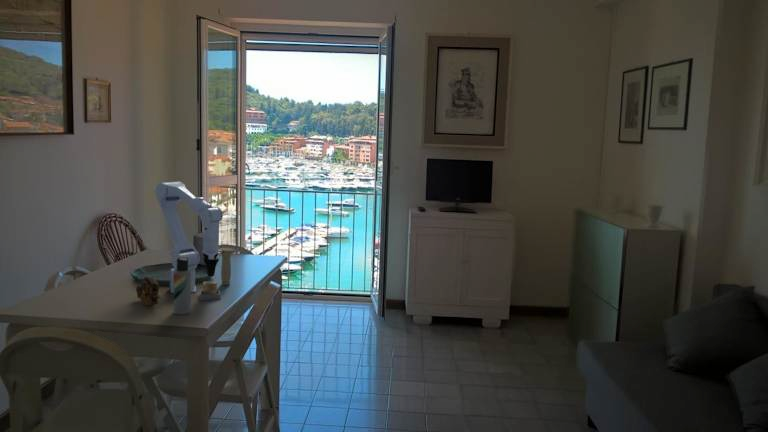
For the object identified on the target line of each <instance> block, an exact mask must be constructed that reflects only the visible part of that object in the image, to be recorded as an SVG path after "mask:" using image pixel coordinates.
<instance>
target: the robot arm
mask: <svg viewBox="0 0 768 432" xmlns="http://www.w3.org/2000/svg"><path fill="white" fill-rule="evenodd" d="M154 193H155V196H156V198H157V202H158V205H159V206H160V209H161V212H162V215H163V218H164V221H165V224H166V227H167V230H168V233H169V236H170V238H171V242H172V244H173V248H172V250H171V251H170V256H171V257H170V259H171V264H172V267H174V268H170V282H169V288H170V293H171V294H174V271H175V270H177V259H178V257H187V258H188V270H190V271H191V293H196V292H197V286H196V269H197V268H198V266H199V265H198V264H199V262H200V256H199V253H198V252H197V251H196V249H195V247H194V246H193V244H191V243H190V242H188V240H187V239H188V238H187V235H186V233H185V231H184V228H183V225H182V222H181V220H180V217H179V216H180V215H179V214H178V211H177V208H176V206H177V205H178V204H179V203H180V201H184V202H186V203H187V204H189V208H190V210H192V211H193V213H195V214H197V215H198V216H199V219H200V221H201V226H202V227H203V231H202V232H203V255H204V257H205V258H203V260H204V262H205V264H206V265H205V268H206V273H207V277H214V276H215V273H216V268H217V265H218V262H219V261H220V259H219V258H218V255H219V253H220V252H222V250H219V248H220V247H219V246H220V245H219V244H220V242H219V241H220V222H221V221H222V219H223V218H224V217H223V211H222V209H221V208H220V207H219V206H212V204H211V203H209V202H207V201H206V200H205V199H204V197H202V196H201V197H199V196H197V197H196V196H195V195H194V194H193V193H192V192H191V191H190V190H188V188H186V184H185V183H183V182H182V181H180V180H178V181H168V182H167V181H166V182H165V181H164V182H163V181H161V182H158V183H157V184H156V187H155V191H154Z"/></svg>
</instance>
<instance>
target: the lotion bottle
mask: <svg viewBox="0 0 768 432" xmlns="http://www.w3.org/2000/svg"><path fill="white" fill-rule="evenodd" d="M191 296H192V292H191V271H190V270H188V258H187V257H178V259H177V270H175V271H174V293H173V314H174V313H175V314H174V315H177V314H179V316H182V314H185V315H188V313H189V314H190V313H191V307H192V306H191V300H192V299H191Z"/></svg>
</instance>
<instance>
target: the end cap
mask: <svg viewBox="0 0 768 432" xmlns="http://www.w3.org/2000/svg"><path fill="white" fill-rule="evenodd" d="M203 300H204V301H205V300H207V301H209V300H210V301H211V300H221V291H220V290H218V289H217V294H203V290H199V301H203Z"/></svg>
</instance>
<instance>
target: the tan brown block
mask: <svg viewBox="0 0 768 432" xmlns="http://www.w3.org/2000/svg"><path fill="white" fill-rule="evenodd" d="M217 290H218V282H217V281H203V282H202V291H203V294H217Z"/></svg>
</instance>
